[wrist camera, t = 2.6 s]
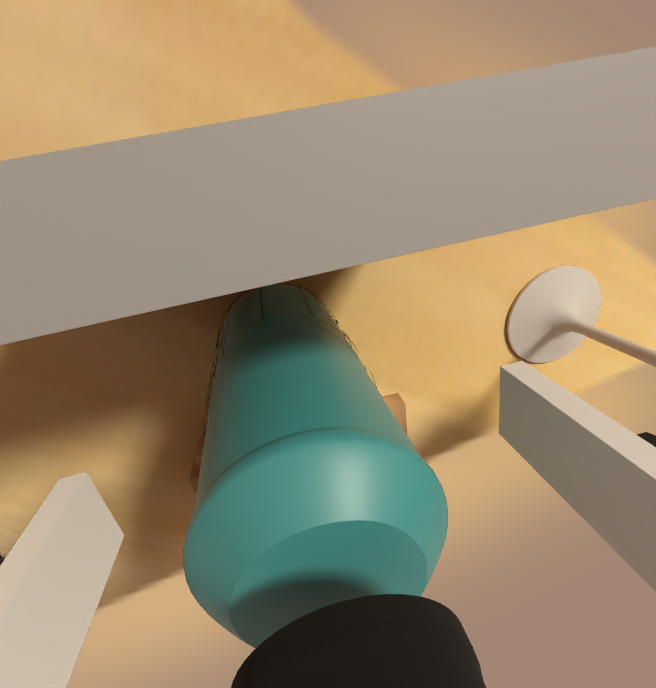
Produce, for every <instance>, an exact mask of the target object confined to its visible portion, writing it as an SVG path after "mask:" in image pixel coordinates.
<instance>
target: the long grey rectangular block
mask: <svg viewBox="0 0 656 688" xmlns="http://www.w3.org/2000/svg"><path fill="white" fill-rule="evenodd" d="M652 199H656V47H651V48H645V49H640V50H634V51H628V52H623V53H616V54H611V55H605V56H600V57H594V58H588V59H582V60H577V61H571V62H565V63H560V64H554V65H548V66H542V67H536V68H531V69H525V70H519V71H514V72H508V73H502V74H496V75H491V76H485V77H479V78H474V79H468V80H462V81H456V82H451V83H445V84H439V85H434V86H428V87H422V88H416V89H411V90H405V91H399V92H393V93H388V94H382V95H376V96H371V97H365V98H359V99H353V100H348V101H342V102H336V103H330V104H325V105H319V106H313V107H308V108H302V109H296V110H290V111H285V112H279V113H273V114H268V115H262V116H256V117H250V118H245V119H239V120H233V121H228V122H222V123H216V124H210V125H205V126H199V127H193V128H187V129H182V130H176V131H170V132H165V133H159V134H153V135H147V136H142V137H136V138H130V139H125V140H119V141H113V142H107V143H102V144H96V145H90V146H85V147H79V148H73V149H67V150H62V151H56V152H50V153H45V154H39V155H33V156H27V157H22V158H16V159H10V160H4V161H0V345H3V344H7V343H12V342H16V341H21V340H25V339H30V338H34V337H39V336H43V335H48V334H52V333H56V332H61V331H65V330H70V329H74V328H79V327H83V326H88V325H92V324H97V323H101V322H106V321H110V320H115V319H119V318H124V317H128V316H133V315H137V314H141V313H146V312H150V311H155V310H159V309H164V308H168V307H173V306H177V305H182V304H186V303H191V302H195V301H200V300H204V299H209V298H213V297H218V296H222V295H227V294H231V293H235V292H240V291H244V290H249V289H253V288H258V287H262V286H267V285H271V284H276V283H280V282H285V281H289V280H294V279H298V278H303V277H307V276H312V275H316V274H320V273H325V272H329V271H334V270H338V269H343V268H347V267H352V266H356V265H361V264H365V263H370V262H374V261H379V260H383V259H388V258H392V257H397V256H401V255H406V254H410V253H414V252H419V251H423V250H428V249H432V248H437V247H441V246H446V245H450V244H455V243H459V242H464V241H468V240H473V239H477V238H482V237H486V236H491V235H495V234H499V233H504V232H508V231H513V230H517V229H522V228H526V227H531V226H535V225H540V224H544V223H549V222H553V221H558V220H562V219H567V218H571V217H576V216H580V215H584V214H589V213H593V212H598V211H602V210H607V209H611V208H616V207H620V206H624V205H629V204H634V203H638V202H643V201H647V200H652Z"/></svg>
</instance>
